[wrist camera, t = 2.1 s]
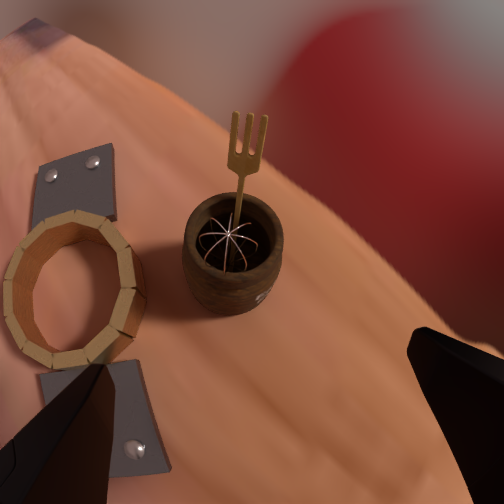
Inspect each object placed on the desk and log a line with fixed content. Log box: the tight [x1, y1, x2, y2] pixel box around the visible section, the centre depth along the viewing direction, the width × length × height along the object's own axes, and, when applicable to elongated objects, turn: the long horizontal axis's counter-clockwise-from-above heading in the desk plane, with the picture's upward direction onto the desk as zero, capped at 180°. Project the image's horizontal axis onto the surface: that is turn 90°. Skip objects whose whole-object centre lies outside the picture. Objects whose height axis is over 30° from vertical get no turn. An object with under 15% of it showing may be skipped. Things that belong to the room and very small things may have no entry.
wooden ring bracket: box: [3, 143, 172, 478], centre depth 18 cm, size 27×11×3 cm, turn 16°
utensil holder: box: [182, 111, 284, 315], centre depth 16 cm, size 6×6×12 cm
